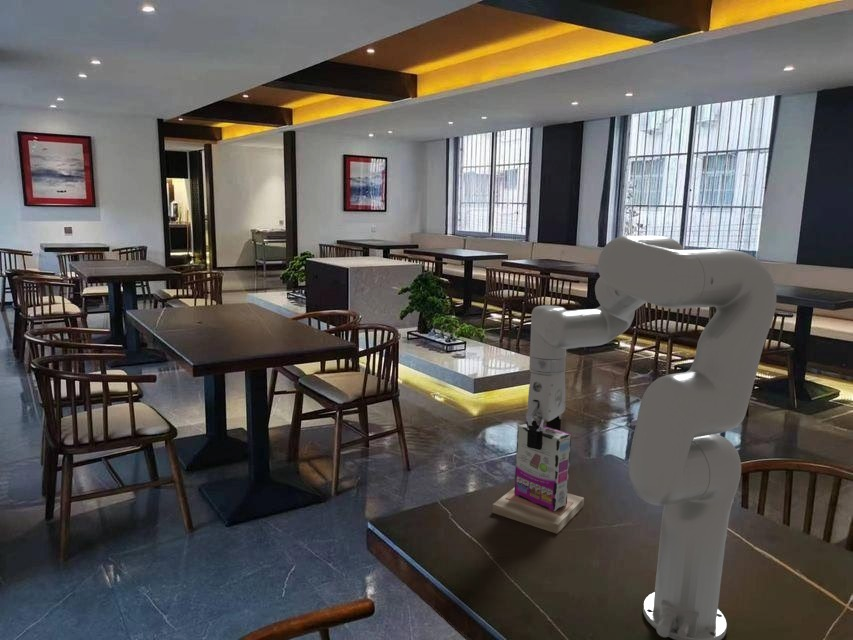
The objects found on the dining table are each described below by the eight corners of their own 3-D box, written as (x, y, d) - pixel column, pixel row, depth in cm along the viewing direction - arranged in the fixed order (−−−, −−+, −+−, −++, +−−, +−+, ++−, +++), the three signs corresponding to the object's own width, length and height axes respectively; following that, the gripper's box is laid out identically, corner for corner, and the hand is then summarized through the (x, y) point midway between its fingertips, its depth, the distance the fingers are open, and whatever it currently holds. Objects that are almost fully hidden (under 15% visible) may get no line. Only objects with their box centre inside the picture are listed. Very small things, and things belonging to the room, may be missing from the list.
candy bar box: (568, 505, 136) (572, 433, 133) (554, 513, 133) (558, 439, 130) (527, 488, 144) (530, 420, 141) (513, 494, 141) (516, 424, 138)
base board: (557, 533, 129) (557, 523, 128) (492, 512, 137) (492, 503, 136) (583, 506, 141) (584, 497, 140) (522, 488, 149) (523, 479, 149)
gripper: (547, 374, 124) (543, 457, 126) (579, 359, 138) (575, 434, 140) (513, 369, 128) (510, 449, 130) (547, 355, 142) (544, 427, 145)
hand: (544, 441), depth 135 cm, fingers open, 9 cm apart
